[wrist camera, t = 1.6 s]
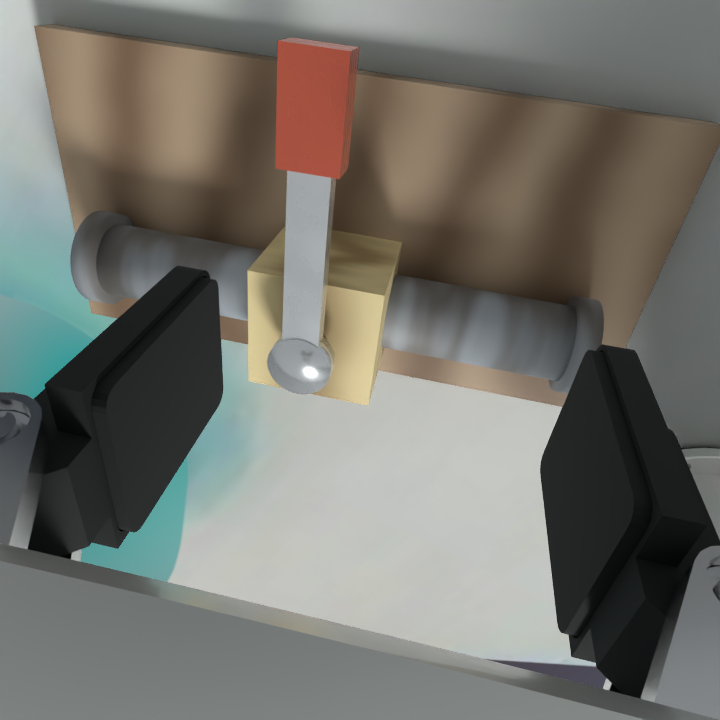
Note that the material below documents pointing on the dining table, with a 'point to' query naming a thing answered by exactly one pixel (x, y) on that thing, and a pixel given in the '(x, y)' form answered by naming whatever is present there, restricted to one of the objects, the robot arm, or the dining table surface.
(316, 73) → the valve lever
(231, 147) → the pipe board
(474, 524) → the dining table surface
